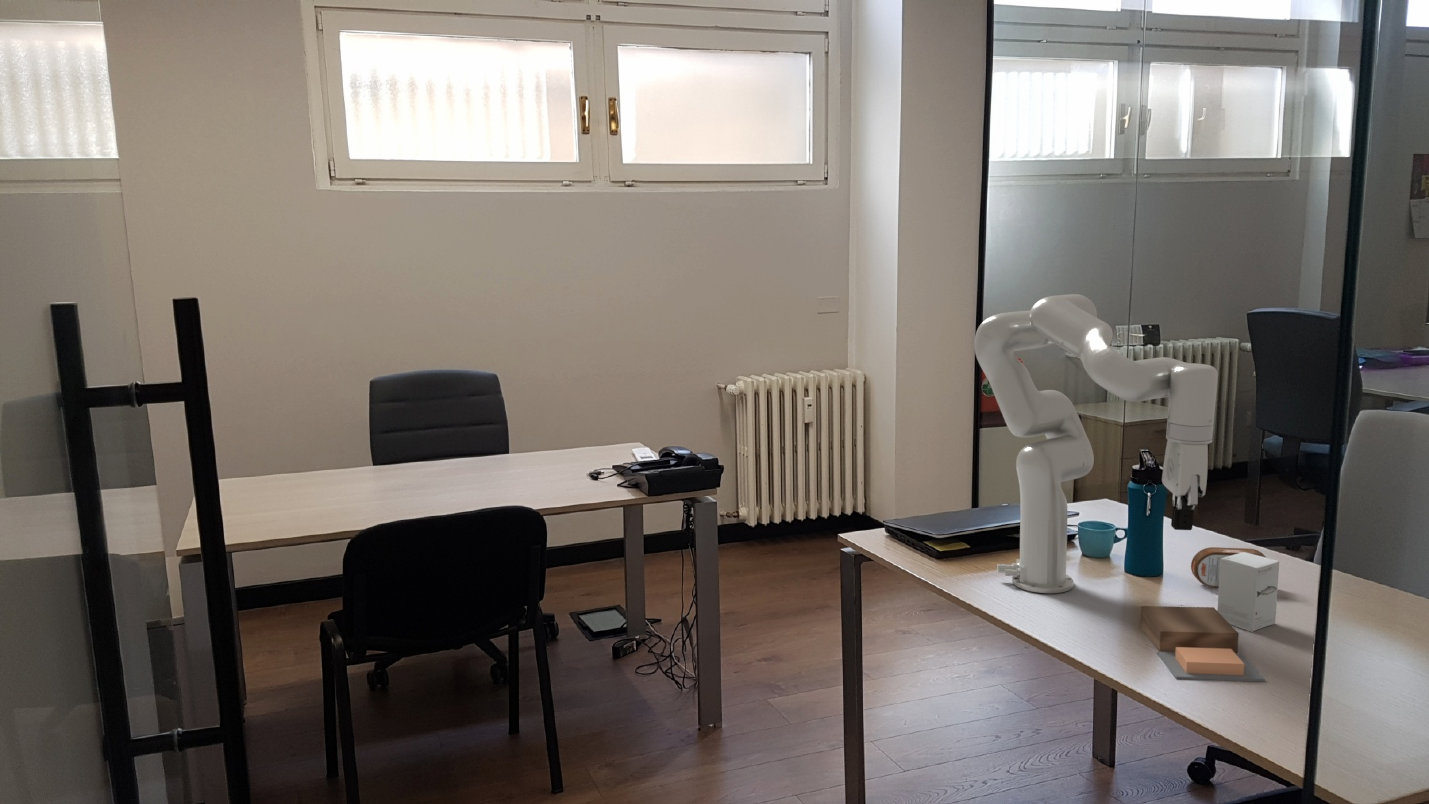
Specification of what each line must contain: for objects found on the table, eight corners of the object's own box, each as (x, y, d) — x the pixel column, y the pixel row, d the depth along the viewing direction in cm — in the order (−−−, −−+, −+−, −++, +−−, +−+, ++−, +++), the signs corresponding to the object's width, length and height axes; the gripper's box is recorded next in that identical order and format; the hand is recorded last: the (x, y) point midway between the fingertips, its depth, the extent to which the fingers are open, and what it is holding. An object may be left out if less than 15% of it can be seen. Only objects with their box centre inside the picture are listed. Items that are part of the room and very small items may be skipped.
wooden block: (1159, 652, 168) (1160, 631, 168) (1140, 625, 180) (1140, 605, 180) (1237, 654, 166) (1238, 633, 166) (1212, 627, 178) (1213, 607, 178)
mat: (1175, 678, 158) (1175, 676, 158) (1157, 653, 168) (1157, 651, 168) (1265, 681, 156) (1265, 679, 156) (1241, 655, 166) (1241, 653, 166)
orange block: (1175, 646, 165) (1175, 657, 165) (1186, 661, 159) (1186, 672, 159) (1231, 648, 163) (1230, 659, 164) (1244, 663, 158) (1243, 674, 158)
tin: (1266, 585, 198) (1269, 547, 197) (1272, 591, 195) (1274, 552, 193) (1189, 583, 201) (1191, 545, 200) (1193, 588, 198) (1195, 550, 197)
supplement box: (1252, 633, 175) (1256, 568, 173) (1215, 619, 182) (1218, 557, 180) (1277, 624, 178) (1280, 560, 176) (1239, 611, 185) (1243, 550, 183)
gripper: (1155, 422, 178) (1148, 515, 182) (1180, 441, 164) (1172, 541, 167) (1197, 423, 177) (1189, 516, 181) (1226, 442, 163) (1217, 543, 166)
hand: (1181, 528), depth 174 cm, fingers closed
